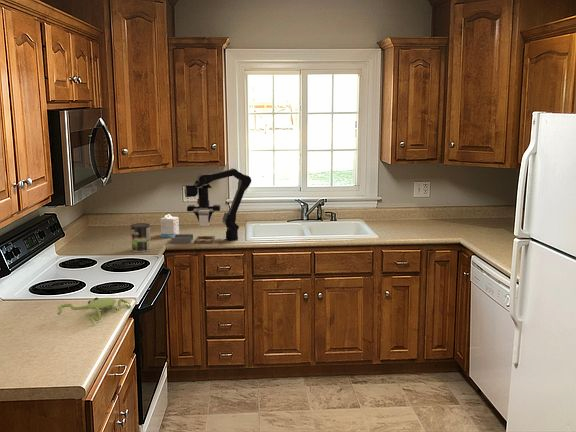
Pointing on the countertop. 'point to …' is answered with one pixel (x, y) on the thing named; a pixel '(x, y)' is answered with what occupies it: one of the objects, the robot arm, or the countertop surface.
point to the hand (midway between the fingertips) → (204, 222)
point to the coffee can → (140, 237)
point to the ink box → (169, 226)
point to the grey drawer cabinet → (182, 238)
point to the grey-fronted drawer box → (203, 218)
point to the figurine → (96, 306)
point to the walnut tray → (204, 239)
